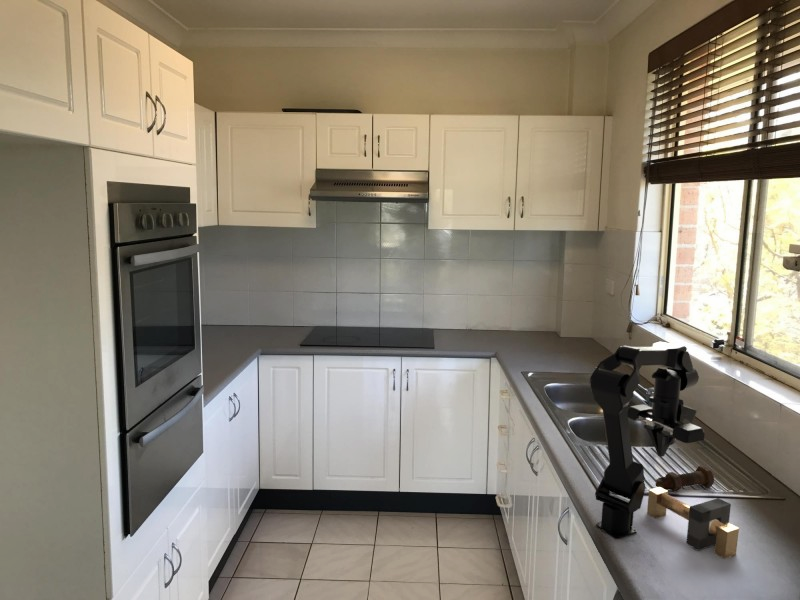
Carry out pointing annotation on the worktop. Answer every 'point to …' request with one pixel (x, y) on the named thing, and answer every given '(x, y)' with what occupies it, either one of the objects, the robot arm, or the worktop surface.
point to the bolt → (686, 479)
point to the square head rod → (662, 500)
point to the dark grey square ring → (705, 522)
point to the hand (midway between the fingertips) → (661, 456)
